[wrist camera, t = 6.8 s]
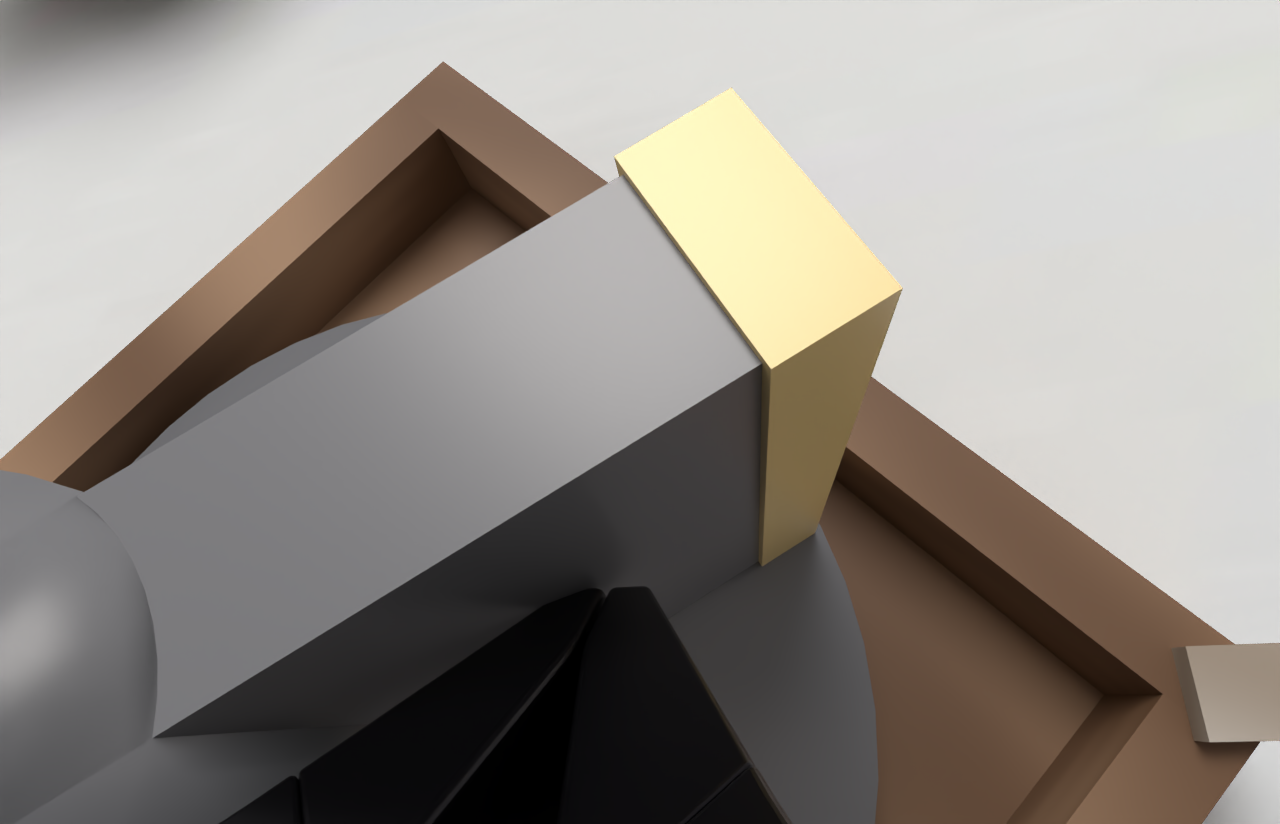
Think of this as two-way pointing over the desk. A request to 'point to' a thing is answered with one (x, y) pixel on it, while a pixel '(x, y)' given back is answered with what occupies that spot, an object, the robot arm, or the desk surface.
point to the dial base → (851, 521)
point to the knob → (475, 503)
